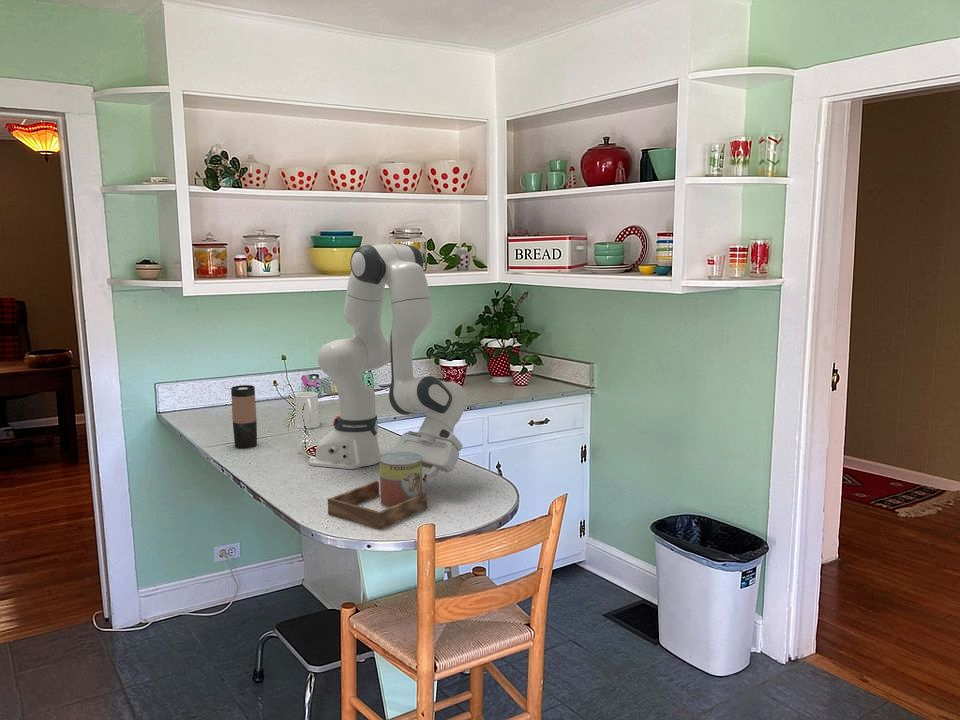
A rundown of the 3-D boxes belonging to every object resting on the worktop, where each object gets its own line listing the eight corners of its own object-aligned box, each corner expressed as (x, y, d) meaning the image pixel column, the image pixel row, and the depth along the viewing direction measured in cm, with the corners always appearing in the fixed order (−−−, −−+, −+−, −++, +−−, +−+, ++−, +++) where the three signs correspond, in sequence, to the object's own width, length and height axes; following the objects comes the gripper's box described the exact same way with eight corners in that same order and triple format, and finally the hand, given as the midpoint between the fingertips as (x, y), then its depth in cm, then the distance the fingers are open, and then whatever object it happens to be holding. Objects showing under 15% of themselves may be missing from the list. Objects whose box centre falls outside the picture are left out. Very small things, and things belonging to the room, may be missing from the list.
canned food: (397, 512, 207) (396, 467, 205) (371, 501, 215) (370, 457, 213) (431, 501, 214) (430, 458, 212) (405, 491, 223) (404, 449, 221)
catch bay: (376, 494, 220) (376, 480, 219) (427, 508, 210) (426, 493, 209) (328, 514, 206) (327, 499, 205) (379, 529, 195) (379, 513, 195)
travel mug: (262, 443, 271) (259, 385, 268) (250, 449, 264) (246, 390, 260) (242, 442, 273) (238, 384, 270) (229, 448, 266) (226, 389, 262)
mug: (321, 430, 288) (320, 397, 286) (297, 432, 286) (295, 399, 284) (318, 422, 299) (317, 390, 297) (295, 424, 297) (293, 392, 295)
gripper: (400, 424, 227) (377, 466, 221) (457, 435, 216) (435, 479, 209) (410, 436, 232) (388, 477, 225) (467, 447, 220) (446, 491, 214)
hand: (411, 478), depth 217 cm, fingers open, 8 cm apart
